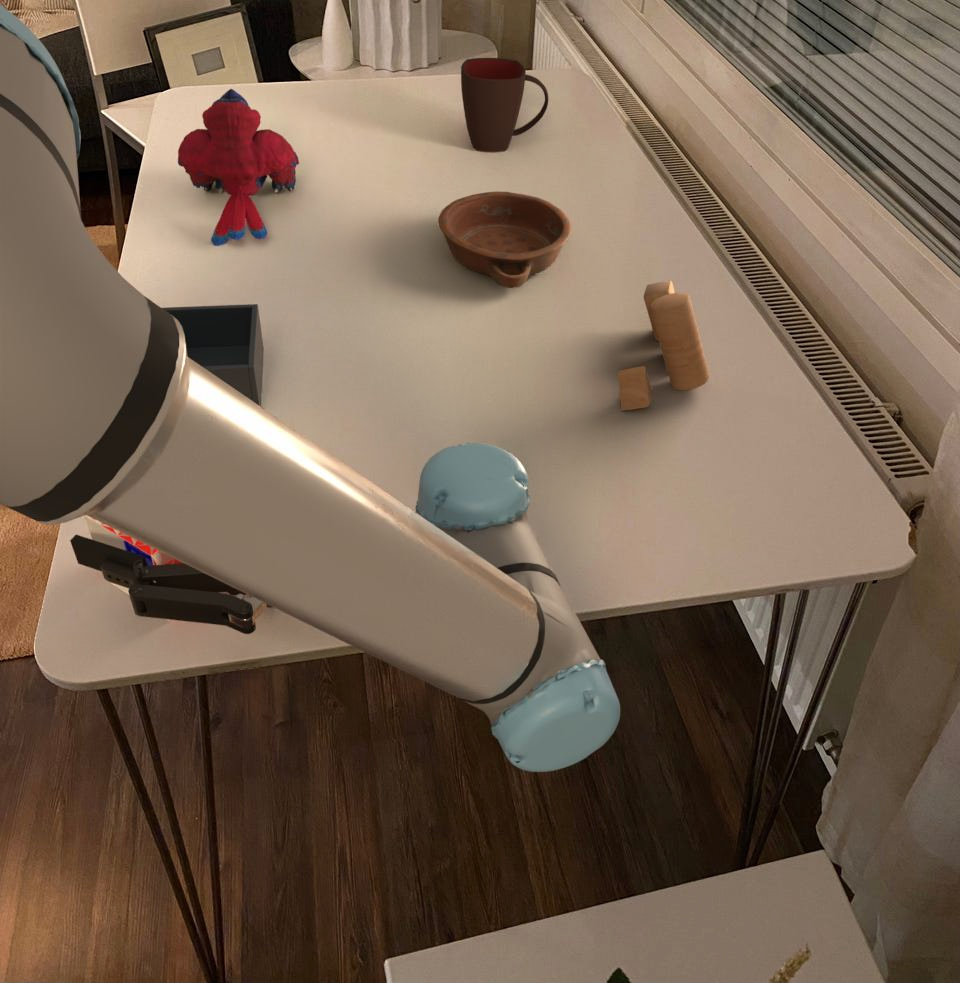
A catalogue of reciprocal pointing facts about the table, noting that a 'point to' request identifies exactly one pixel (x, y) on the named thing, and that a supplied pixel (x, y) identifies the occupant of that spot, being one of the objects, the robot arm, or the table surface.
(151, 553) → the red patterned cube
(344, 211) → the table surface
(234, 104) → the figurine
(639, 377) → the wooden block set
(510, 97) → the cup
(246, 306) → the bin
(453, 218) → the dish
